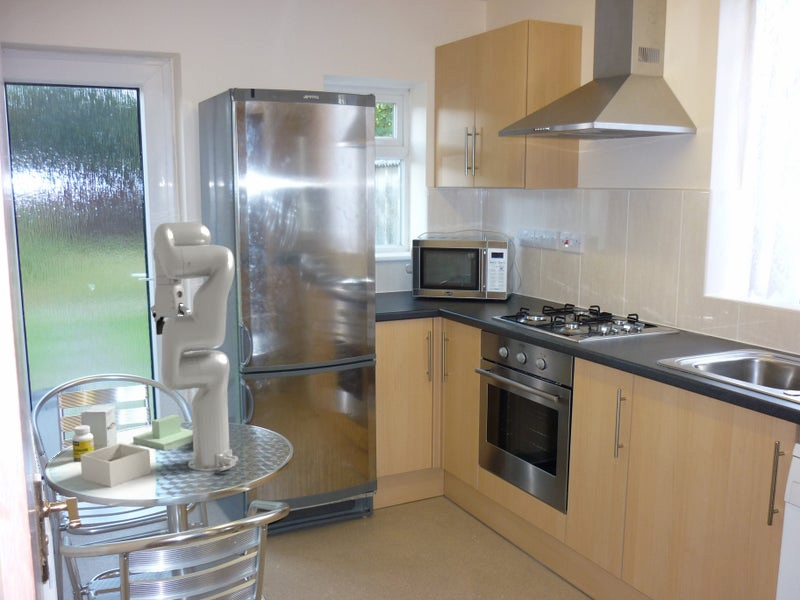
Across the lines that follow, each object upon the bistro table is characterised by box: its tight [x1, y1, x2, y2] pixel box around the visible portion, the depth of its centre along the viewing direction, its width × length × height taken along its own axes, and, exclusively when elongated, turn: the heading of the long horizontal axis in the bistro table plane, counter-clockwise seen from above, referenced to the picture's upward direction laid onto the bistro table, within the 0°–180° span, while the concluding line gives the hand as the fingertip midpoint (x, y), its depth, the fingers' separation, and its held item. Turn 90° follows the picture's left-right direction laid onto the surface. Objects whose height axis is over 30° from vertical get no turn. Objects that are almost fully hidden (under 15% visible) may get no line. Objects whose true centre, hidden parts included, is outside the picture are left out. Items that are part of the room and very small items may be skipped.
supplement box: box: [80, 405, 118, 451], centre depth 220 cm, size 7×7×13 cm
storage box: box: [80, 442, 151, 488], centre depth 197 cm, size 12×12×7 cm
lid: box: [132, 414, 193, 452], centre depth 228 cm, size 14×14×7 cm
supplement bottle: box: [71, 424, 94, 463], centre depth 211 cm, size 5×5×10 cm
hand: (171, 335), depth 237 cm, fingers open, 9 cm apart
